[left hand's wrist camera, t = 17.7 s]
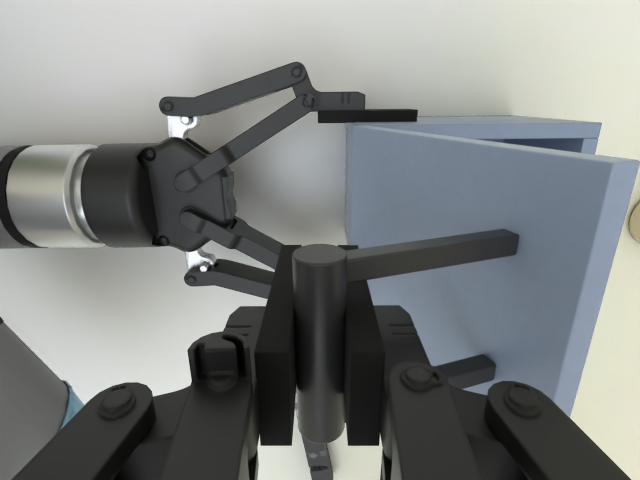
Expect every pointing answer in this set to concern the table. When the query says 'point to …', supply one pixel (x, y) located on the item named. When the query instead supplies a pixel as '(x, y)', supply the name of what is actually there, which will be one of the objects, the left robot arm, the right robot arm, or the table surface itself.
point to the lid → (464, 263)
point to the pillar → (317, 457)
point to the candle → (635, 223)
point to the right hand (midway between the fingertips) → (407, 193)
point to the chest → (487, 137)
